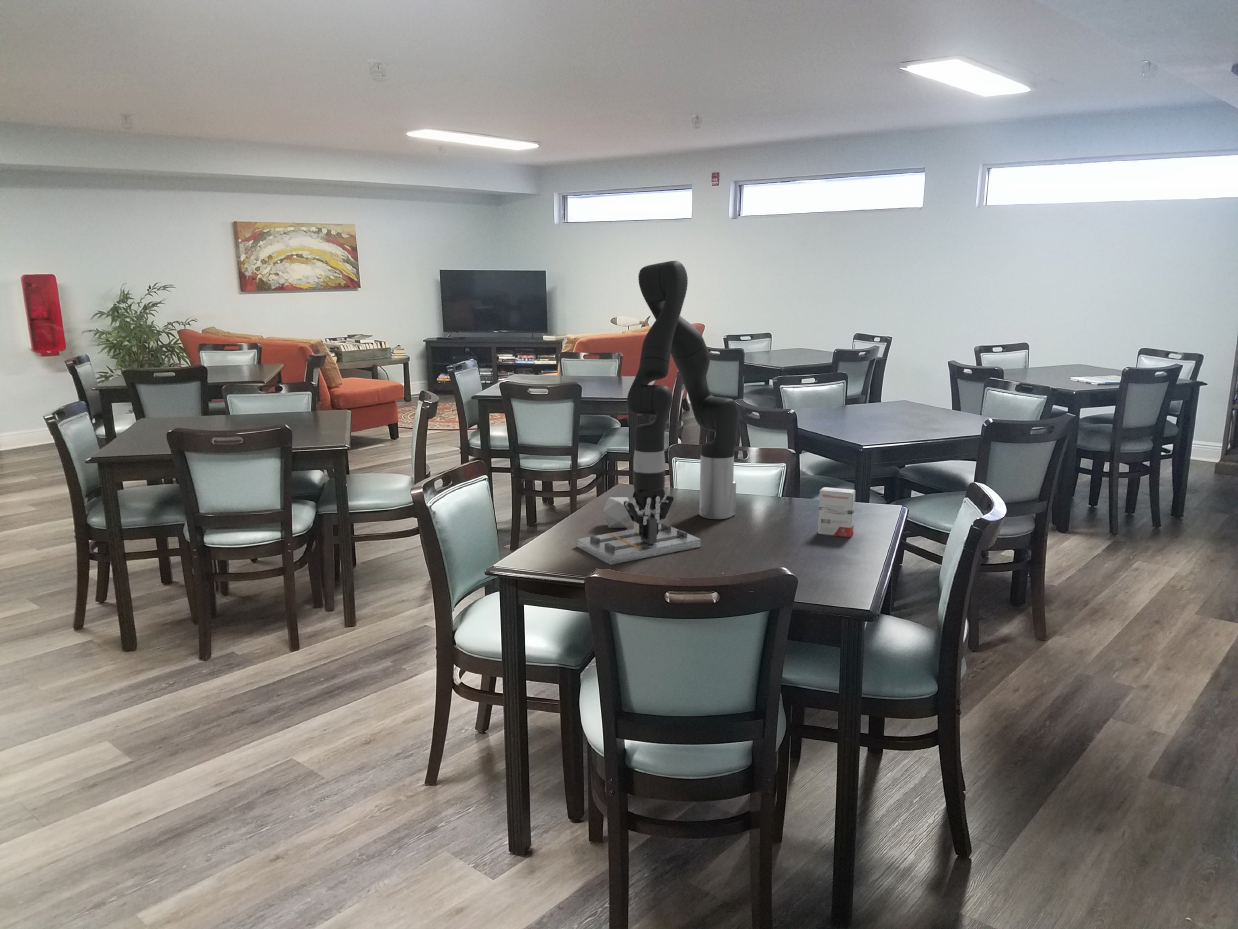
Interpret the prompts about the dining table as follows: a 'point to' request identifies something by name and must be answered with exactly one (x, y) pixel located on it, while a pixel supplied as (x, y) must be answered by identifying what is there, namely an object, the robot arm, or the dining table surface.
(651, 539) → the fader near
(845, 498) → the ink box
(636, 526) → the block
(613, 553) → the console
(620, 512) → the die
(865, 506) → the dining table surface
